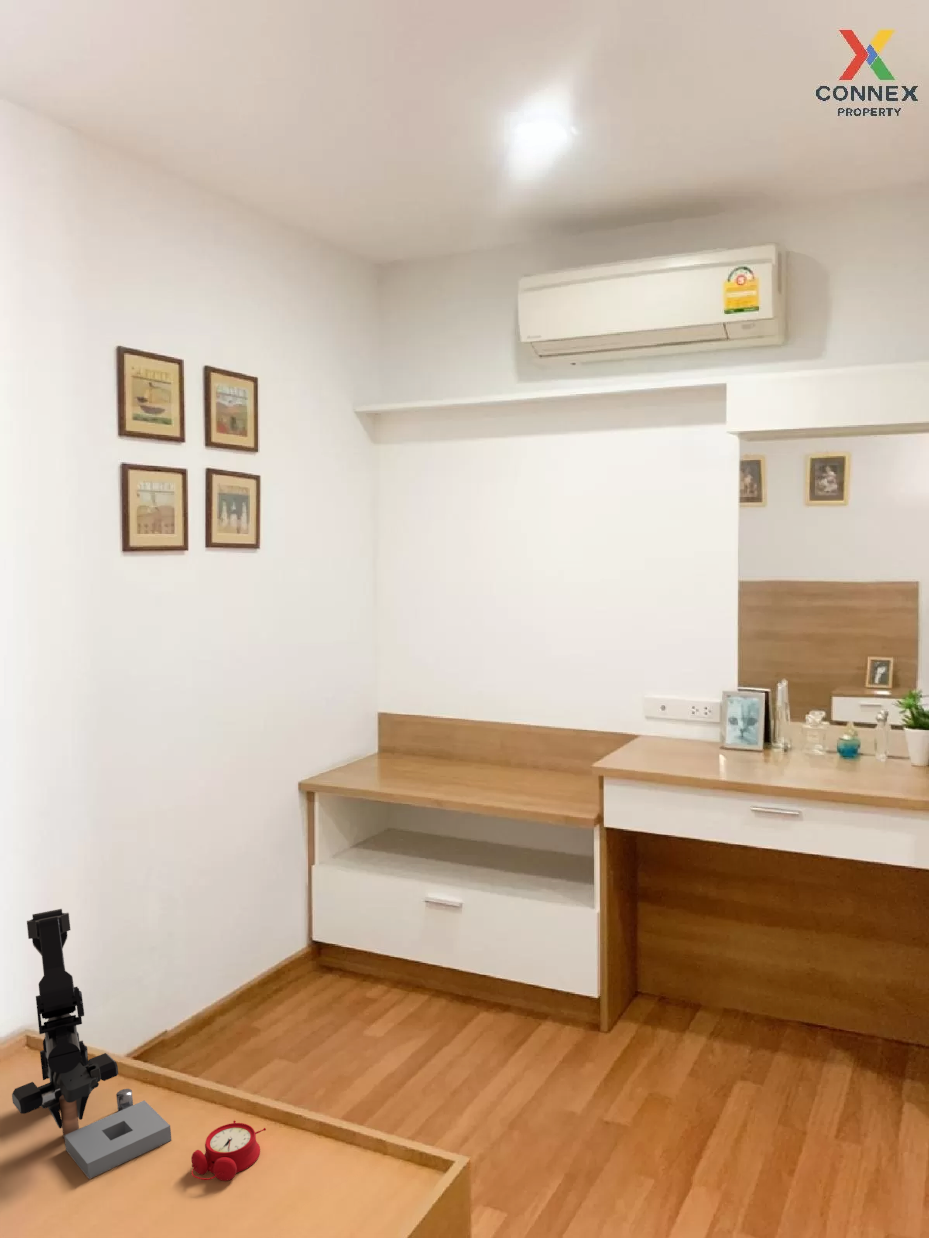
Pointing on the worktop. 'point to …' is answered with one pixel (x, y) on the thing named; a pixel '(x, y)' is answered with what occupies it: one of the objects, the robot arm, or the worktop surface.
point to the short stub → (124, 1099)
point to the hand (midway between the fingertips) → (70, 1122)
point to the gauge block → (117, 1138)
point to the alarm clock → (227, 1151)
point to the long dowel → (68, 1116)
